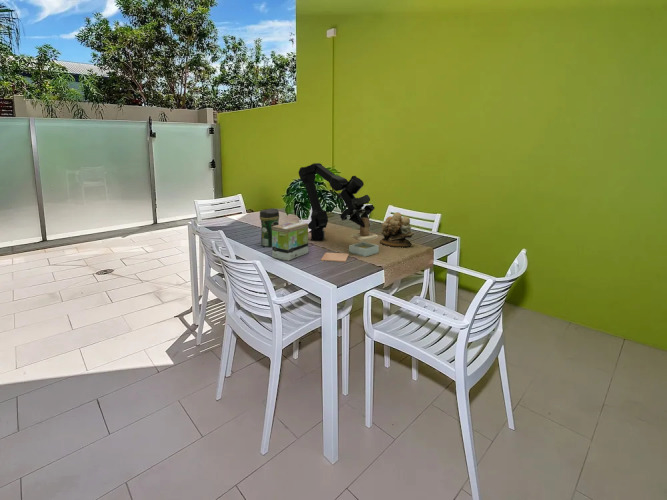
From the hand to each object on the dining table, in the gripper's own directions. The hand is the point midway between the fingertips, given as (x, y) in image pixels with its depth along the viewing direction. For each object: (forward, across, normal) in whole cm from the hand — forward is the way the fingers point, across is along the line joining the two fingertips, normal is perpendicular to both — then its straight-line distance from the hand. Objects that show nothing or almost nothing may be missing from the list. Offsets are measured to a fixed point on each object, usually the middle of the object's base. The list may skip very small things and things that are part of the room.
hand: (366, 226), depth 175 cm
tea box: (-6, -28, +25) cm, 38 cm away
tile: (+6, -16, +13) cm, 21 cm away
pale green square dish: (+8, 0, +10) cm, 13 cm away
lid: (+3, 0, +5) cm, 6 cm away
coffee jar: (-21, -25, +40) cm, 51 cm away
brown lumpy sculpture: (+10, +23, +9) cm, 26 cm away
